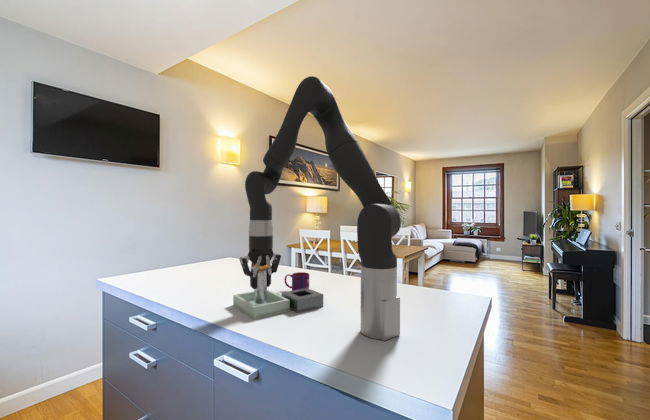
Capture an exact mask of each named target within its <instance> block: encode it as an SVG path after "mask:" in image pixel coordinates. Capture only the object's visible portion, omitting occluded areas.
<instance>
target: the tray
mask: <svg viewBox="0 0 650 420" xmlns="http://www.w3.org/2000/svg"><path fill="white" fill-rule="evenodd" d="M232 301H233V303H232V305H233V306H234V307H236V308H237V309H239V310H240V312H241V311H242V313H244V314H245V315H247V316H248V317H250V318H251V319H252V320H256V319H261V318H265V317H268V316H274V315H277V314H282V313H286V312H290V311H291V309H290V300H289V299H286V298H284V297H282V296H281V294H280V295H279V294H278V293H275V292H273V291H272V290H269V289H267V302H266V303H263V304H256V303H254V290H253V291H247V292H243V293H237V294H233V300H232Z"/></svg>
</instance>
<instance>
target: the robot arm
mask: <svg viewBox="0 0 650 420" xmlns="http://www.w3.org/2000/svg"><path fill="white" fill-rule="evenodd" d="M286 111H287V112H286V113H285V116H284V118H283V121H282V123H281V126H280V128H279V130H278V133H277V134H276V136H275V138H274V139H273V142H272V143H271V144H270V146H269V148H268V149H267V151H266V153H265V154H264V156H263V159H262V161H263V164H264V165H265V167H264V170H263V172H262V171H255V170H253V171H251V172H249V173H248V175H247V176H246V178H245V181H244V188H245V194H246V197H247V202H248V204H249V205H248V206H249V225H248V253H247V255H245V256H243V257H242V256H241V257H240V258H239V259H238V260H239V263H240V265H241V268H242V271H243V274H244V275H245V276H247V277H249V286H250V288H252V289H253V290H254V289H256V288H257V277H256V275H257V271H258V267H257V266H260V265H268V268H267V288H268V287H270V285H272V275H273V274H275V273H277V272H278V268H279V264H280V262H281V258H282V256H281V254H278V253H274V251H273V248H274V242H273V241H274V227H273V226H274V225H273V206H272V204H271V202H269V201H267V198H266V195H270V194H272V193H273V192H274V191H275V190H276V189H277V187H278V185H279V182H280V179H281V177H282V174H283V170H284V169H285V167H286V166H287V163H288V162H289V160H290V158H292V156H293V154H294V152H295V150H296V147H297V146H296V145H297V142H298V136H299V132H300V129H301V125H302V124H303V121H304V119H305V118H306V116H307V115H308V114H309V113H310V114H311V115H312V116H313V117H314V119H315V120H316V121H317V123H318V125H319V127H320V128H321V131H322V132H323V136H324V142H325V143H324V145H325V150H326V154H327V156H328V158H329V160H330V163H331V165H332V166H333V168H334V170H335V171H336V173H337V174H338V177H340V178H341V180H342V181H343V183H345V184H346V185H347V186H348V187H349V189H351V190H352V192H353V193H354V194H355V195H356V197H357V198H358V200H359V201H360V203H361V205H362V207H363V208H362V209H360V211H359V214H358V216H357V221H356V222H357V223H356V234H357V236H356V237H357V239H356V240H357V253H358V256H359V258H360V332H361V334H362V335H363V336H365V337H367V338H370V339H376V340H381V341H383V342H384V341H385V342H386V341H388V340H390V339H392V338H395V337H399V336H400V335H401V297H400V296H398V257H397V255H396V254H395V253H394V251H393V245H392V242H393V241H392V238H393V237H394V236H396V235H397V234H398V233H399V231H400V229H401V225H402V220H401V219H402V218H401V215H400V212H399V211H398V209H397V208H396V205H394V203H393V201H392V200H391V199H390V198H389V196H388V195H387V194H386V192H385V191H384V189H383V188H382V185H381V184H380V182H379V181H378V178H377V176H376V174H375V172H374V169H373V168H372V166H371V164H370V162H369V161H368V157H366V154H365V153H364V150H363V149H362V147H361V145H360V143H359V141H358V139H357V137H356V136H355V134H354V133H353V131H352V130H351V128H350V127H349V125H348V124H347V122H346V120H345V118H344V117H343V115H342V112H341V110H340V107H339V105H338V102H337V99H336V98H335V94H334V92H333V91H332V90H331V88H330V87H329V86H328V85H327V84H325V83H324V82H323V81H322V80H321V79H320V78H319V77H316V76H307V77H306V78H304V79H302V80H301V81H300V83H299V84H298V86H297V88H296V90H295V92H294V94H293V97H292V100H291V101H290V104H289V106H288V109H287V110H286ZM271 260H272V263H271ZM249 261H250V262H251V264H250V267H249V264H248V263H249ZM253 265H255V267H253Z"/></svg>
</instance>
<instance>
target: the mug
mask: <svg viewBox="0 0 650 420" xmlns="http://www.w3.org/2000/svg"><path fill="white" fill-rule="evenodd" d="M287 277H290V278H291V285H289V284H288V283H287ZM284 284H285V285H286V286H287V288H290V289H291V291H293V290H298V289H303V288H308V289H310V273H308V272H304V271H303V272H302V271H301V272H293V273H292V274H290V273H288V274H286V275H285V276H284Z"/></svg>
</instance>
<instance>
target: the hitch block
mask: <svg viewBox="0 0 650 420" xmlns="http://www.w3.org/2000/svg"><path fill="white" fill-rule="evenodd" d="M280 296H282V297H284V298H286V299H289V300H290V311H293V312H295V313H297V314H298V313H302V312H307V311H311V310H314V309H315V310H316V309H319V308H323V307H324V293H321V292H319V291H315V290H314V289H313V290H312V289H310V288H309V289H308V288H303V289H298V290H293V291H292V290H287V291H282V292H281V294H280Z"/></svg>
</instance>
